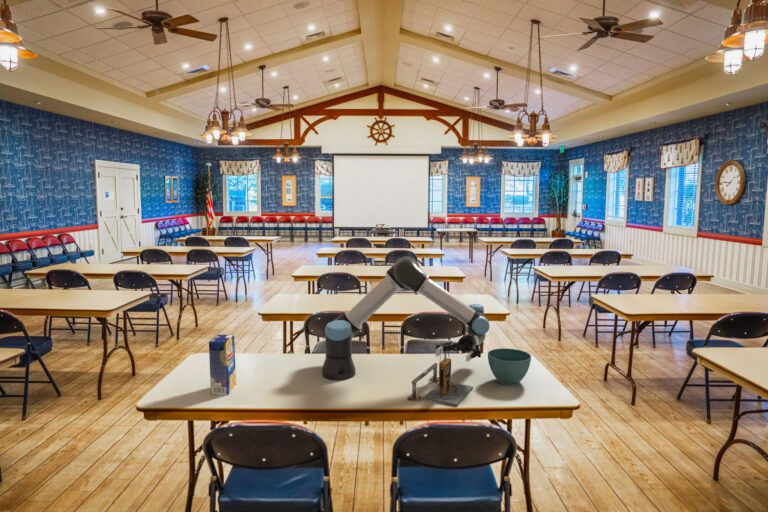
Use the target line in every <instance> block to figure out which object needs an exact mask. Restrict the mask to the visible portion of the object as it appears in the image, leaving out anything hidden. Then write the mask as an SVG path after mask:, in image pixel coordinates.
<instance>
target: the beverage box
mask: <svg viewBox="0 0 768 512" xmlns="http://www.w3.org/2000/svg"><path fill="white" fill-rule="evenodd" d="M235 346H236V345H235V334H216V335H215V336H214V337H213V338H212V339H211V340H210V341H208V354H209V359H208V360H209V377H210V380H209V381H210V395H211V394H218V395H217V396H228V395H229V394H230V393H231V392H232V391H231V390H233V389H234V388H235V387H236V386H237V379H236V378H237V377H236V376H237V375H236V371H237V370H236V351H235V350H236V349H235ZM235 385H236V386H235ZM234 386H235V387H234ZM233 387H234V388H233ZM230 391H231V392H230Z"/></svg>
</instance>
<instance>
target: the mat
mask: <svg viewBox="0 0 768 512" xmlns="http://www.w3.org/2000/svg"><path fill="white" fill-rule="evenodd" d="M453 386H454V387H453ZM455 387H456V388H457V390H456V388H455ZM473 389H474V386H473V385H467V384H462V383H457V382H452V381H451V389H450V390H449V391H448V392H447V393H446V394H445V395H443V394H439V383H436V385H435V386H434V387H433V388H432V389H430V391H428V392H427V393H426V394H425V395H424V396H423V397H422V398H423V400H424V401H427V402H434V403H438V404H442V405H447V406H454V407H458V406H459V405H460V404H461V403H462V402H463V400H464V399H466V397H467V396H468V395H469V394H470V393H471V392H472V391H473ZM455 390H456V391H455ZM454 391H455V392H454ZM456 392H457V393H459V394H460V395H461V396H460V395H458V394H457V393H456ZM441 396H442V397H441ZM454 396H455V398H452V399H448V398H450V397H454ZM456 396H458V397H456ZM462 396H463V397H462ZM443 398H444V399H443Z"/></svg>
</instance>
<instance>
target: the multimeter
mask: <svg viewBox="0 0 768 512" xmlns="http://www.w3.org/2000/svg"><path fill="white" fill-rule="evenodd" d="M444 343H445V344H446V342H444ZM448 345H449V343H448ZM442 347H444V346H442ZM442 347H441V348H442ZM445 348H446V345H445V347H444V349H445ZM447 352H448V356H450V351H447ZM447 352H444V354H443V356H444V358H443V359H442V360H440V361H439V363H438V377H439V382H438V384H439V394H443V395H445V394H446V393H447V392H448V391H449V390H450V389H451V382H452V359H451V358H447ZM441 355H442V354H441V349H440V355H439V356H441ZM453 387H454V386H453ZM455 388H456V387H455ZM456 390H457V388H456ZM456 390H455V391H456ZM455 391H454V392H455ZM456 393H457V392H456ZM457 394H458V395H460V394H459V393H457ZM460 396H461V395H460ZM441 397H442V396H441ZM456 397H458V396H456ZM462 397H463V396H462ZM452 398H455V396H454V397H450V398H448V399H452ZM443 399H444V398H443Z"/></svg>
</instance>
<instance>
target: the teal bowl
mask: <svg viewBox="0 0 768 512" xmlns="http://www.w3.org/2000/svg"><path fill="white" fill-rule="evenodd" d="M531 360H532V355H531V354H530V353H528V352H527V351H523V350H520V349H516V348H495V349H490V350H488V352H487V361H488V364H489V368H490V371H491V372H492V375H493V376H494V377H495V379H496V380H497V381H498V382H499V383H500V384H502V385H504V386H505V385H506V386H516V385H518V384H520V382H521V381H522V380H523V379H524V378H525V377H526V375H527V373H528V371H529V369H530V366H531Z"/></svg>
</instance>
